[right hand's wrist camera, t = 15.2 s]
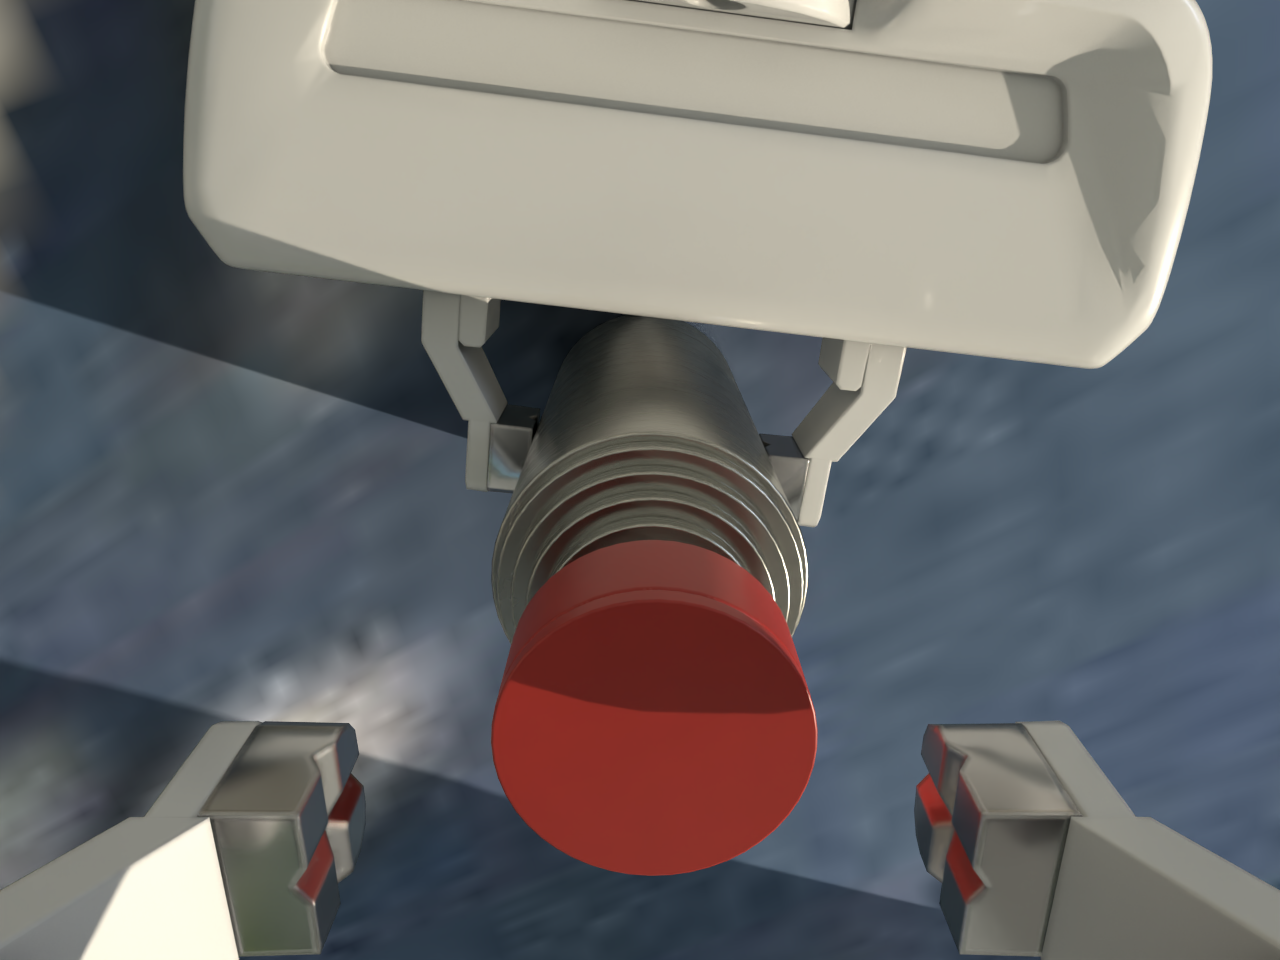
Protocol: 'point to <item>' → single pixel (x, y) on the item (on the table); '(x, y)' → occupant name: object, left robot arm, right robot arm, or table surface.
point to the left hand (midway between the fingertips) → (643, 501)
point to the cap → (653, 711)
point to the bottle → (646, 467)
